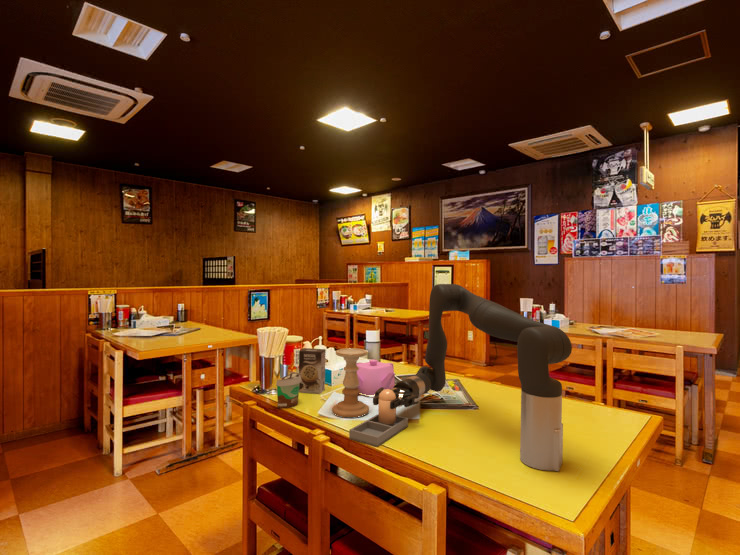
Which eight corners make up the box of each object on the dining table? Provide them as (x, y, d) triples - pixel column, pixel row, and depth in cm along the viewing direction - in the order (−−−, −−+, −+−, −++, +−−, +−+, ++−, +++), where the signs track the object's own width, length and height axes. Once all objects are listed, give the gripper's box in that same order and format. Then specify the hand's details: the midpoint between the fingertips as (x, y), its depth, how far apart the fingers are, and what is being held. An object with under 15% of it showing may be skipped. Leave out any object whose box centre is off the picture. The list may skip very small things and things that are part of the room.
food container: (293, 411, 131) (293, 381, 131) (275, 409, 133) (276, 379, 133) (306, 399, 143) (306, 372, 143) (290, 398, 145) (290, 371, 145)
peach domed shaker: (399, 420, 119) (399, 388, 119) (390, 426, 115) (390, 393, 114) (384, 417, 122) (384, 385, 122) (375, 422, 117) (375, 390, 117)
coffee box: (297, 392, 152) (298, 350, 152) (303, 388, 158) (303, 347, 158) (320, 394, 150) (321, 351, 150) (325, 389, 157) (325, 348, 156)
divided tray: (407, 426, 119) (407, 418, 119) (377, 447, 105) (377, 437, 105) (381, 420, 124) (381, 412, 124) (349, 438, 110) (349, 429, 110)
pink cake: (393, 385, 163) (394, 355, 163) (395, 398, 146) (395, 365, 146) (352, 385, 163) (352, 355, 163) (349, 398, 146) (349, 364, 146)
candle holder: (368, 418, 125) (369, 355, 125) (330, 418, 126) (330, 354, 125) (369, 405, 138) (370, 347, 137) (334, 405, 138) (334, 347, 138)
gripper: (390, 374, 134) (362, 386, 120) (429, 381, 126) (404, 395, 112) (390, 397, 134) (362, 411, 120) (429, 405, 126) (404, 421, 112)
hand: (382, 403), depth 116 cm, fingers closed on peach domed shaker, 5 cm apart
